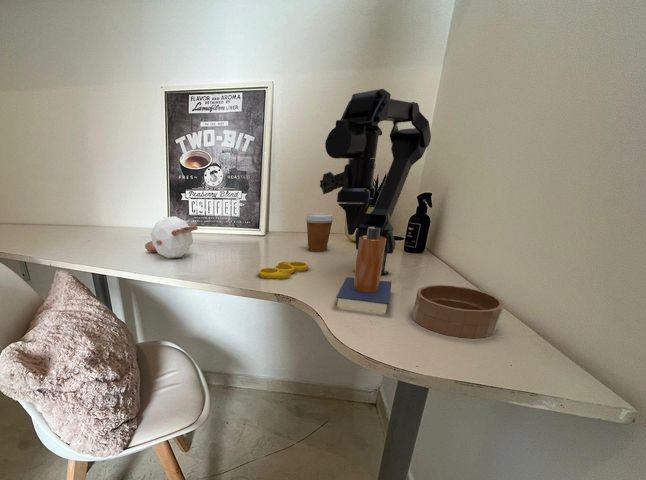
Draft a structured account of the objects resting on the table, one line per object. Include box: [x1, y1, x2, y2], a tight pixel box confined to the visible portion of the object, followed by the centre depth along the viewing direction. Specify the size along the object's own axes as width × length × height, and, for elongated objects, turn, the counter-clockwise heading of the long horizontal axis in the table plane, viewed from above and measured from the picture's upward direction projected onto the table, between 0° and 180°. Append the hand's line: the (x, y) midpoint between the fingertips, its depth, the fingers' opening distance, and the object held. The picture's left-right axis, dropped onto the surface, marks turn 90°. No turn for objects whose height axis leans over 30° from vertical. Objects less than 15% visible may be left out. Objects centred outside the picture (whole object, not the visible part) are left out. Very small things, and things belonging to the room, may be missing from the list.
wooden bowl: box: [411, 284, 505, 339], centre depth 61 cm, size 13×13×6 cm
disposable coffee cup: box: [305, 213, 334, 253], centre depth 116 cm, size 10×10×12 cm
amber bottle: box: [353, 227, 386, 293], centre depth 70 cm, size 5×5×13 cm
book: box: [336, 276, 392, 314], centre depth 73 cm, size 14×10×3 cm
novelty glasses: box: [258, 261, 309, 280], centre depth 94 cm, size 17×2×10 cm
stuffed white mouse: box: [144, 216, 199, 259], centre depth 110 cm, size 14×25×14 cm, turn 51°
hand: (353, 231), depth 79 cm, fingers open, 9 cm apart
